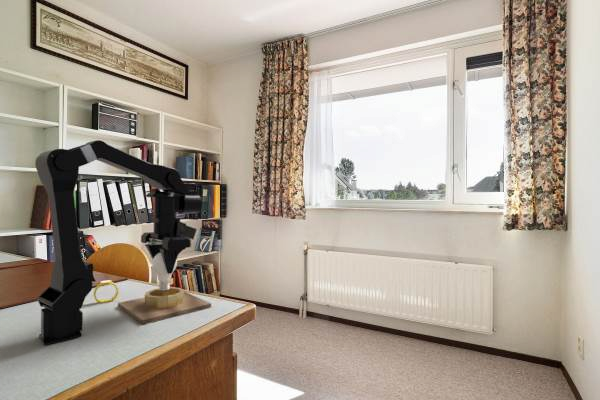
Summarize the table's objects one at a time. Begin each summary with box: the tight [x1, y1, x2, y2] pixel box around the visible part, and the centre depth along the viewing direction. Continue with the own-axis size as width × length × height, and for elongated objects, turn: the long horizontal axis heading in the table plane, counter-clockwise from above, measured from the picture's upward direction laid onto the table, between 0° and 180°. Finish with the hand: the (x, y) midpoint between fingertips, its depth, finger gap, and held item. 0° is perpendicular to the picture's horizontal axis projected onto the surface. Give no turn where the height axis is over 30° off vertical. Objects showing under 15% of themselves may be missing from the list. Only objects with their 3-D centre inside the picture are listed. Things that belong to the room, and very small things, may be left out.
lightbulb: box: [151, 252, 178, 292], centre depth 90 cm, size 6×6×11 cm
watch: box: [93, 279, 119, 304], centre depth 94 cm, size 6×3×6 cm, turn 127°
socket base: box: [117, 291, 212, 325], centre depth 90 cm, size 18×18×1 cm
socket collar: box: [144, 286, 185, 309], centre depth 90 cm, size 10×10×3 cm
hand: (164, 271), depth 90 cm, fingers closed on lightbulb, 6 cm apart
